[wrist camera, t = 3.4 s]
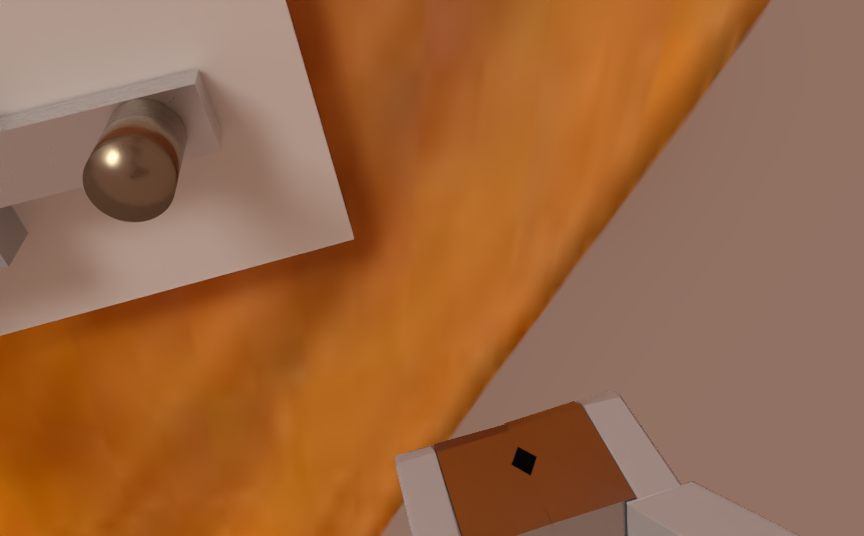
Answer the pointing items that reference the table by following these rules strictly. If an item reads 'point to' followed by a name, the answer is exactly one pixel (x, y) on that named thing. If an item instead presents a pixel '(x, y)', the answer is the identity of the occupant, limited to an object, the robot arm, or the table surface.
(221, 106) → the door plate
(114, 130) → the bolt
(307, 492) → the table surface
